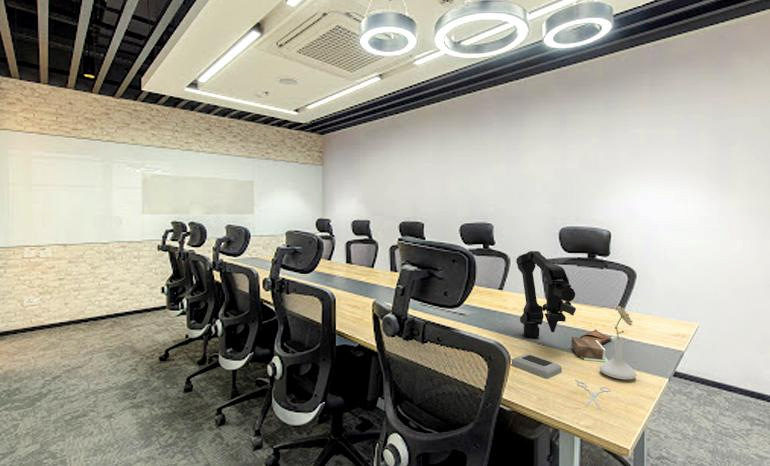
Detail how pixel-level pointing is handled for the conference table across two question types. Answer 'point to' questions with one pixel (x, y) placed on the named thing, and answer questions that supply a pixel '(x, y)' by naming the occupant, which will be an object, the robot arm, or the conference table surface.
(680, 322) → the conference table surface
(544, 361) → the grey flat block
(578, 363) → the conference table surface
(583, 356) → the mat
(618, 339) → the flower in vase
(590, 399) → the scissors
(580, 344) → the walnut block
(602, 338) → the sunglasses case
